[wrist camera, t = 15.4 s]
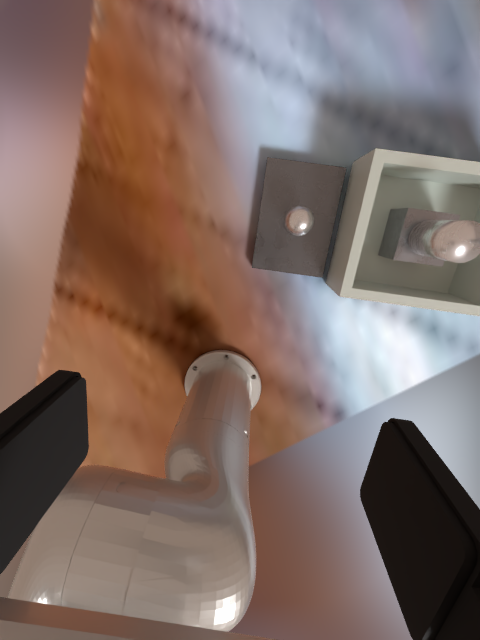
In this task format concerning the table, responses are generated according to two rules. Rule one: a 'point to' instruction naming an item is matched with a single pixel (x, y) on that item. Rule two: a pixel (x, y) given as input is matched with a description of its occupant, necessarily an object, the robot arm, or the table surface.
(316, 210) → the stud base
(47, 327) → the table surface
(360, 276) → the bin
